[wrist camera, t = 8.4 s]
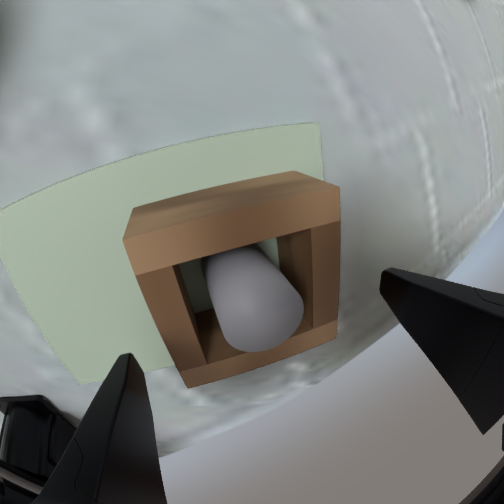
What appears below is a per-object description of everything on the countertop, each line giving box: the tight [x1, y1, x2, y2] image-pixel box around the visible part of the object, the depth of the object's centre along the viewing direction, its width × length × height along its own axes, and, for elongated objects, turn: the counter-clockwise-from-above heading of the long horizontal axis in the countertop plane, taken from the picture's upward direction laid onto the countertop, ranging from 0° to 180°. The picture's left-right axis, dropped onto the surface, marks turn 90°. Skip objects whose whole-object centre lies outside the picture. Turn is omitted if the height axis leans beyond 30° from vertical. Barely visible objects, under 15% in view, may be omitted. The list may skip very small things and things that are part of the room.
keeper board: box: [0, 123, 324, 385], centre depth 10 cm, size 16×11×5 cm
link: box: [122, 171, 340, 388], centre depth 11 cm, size 7×7×4 cm
